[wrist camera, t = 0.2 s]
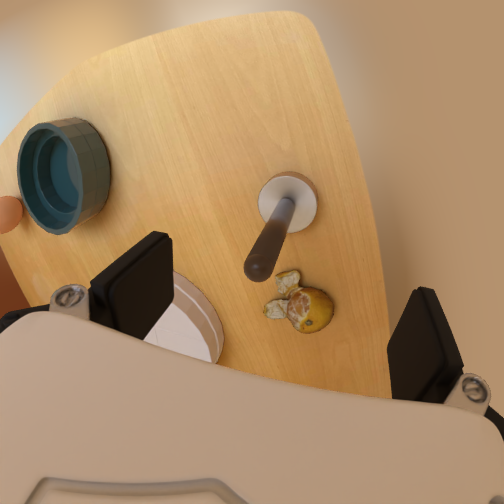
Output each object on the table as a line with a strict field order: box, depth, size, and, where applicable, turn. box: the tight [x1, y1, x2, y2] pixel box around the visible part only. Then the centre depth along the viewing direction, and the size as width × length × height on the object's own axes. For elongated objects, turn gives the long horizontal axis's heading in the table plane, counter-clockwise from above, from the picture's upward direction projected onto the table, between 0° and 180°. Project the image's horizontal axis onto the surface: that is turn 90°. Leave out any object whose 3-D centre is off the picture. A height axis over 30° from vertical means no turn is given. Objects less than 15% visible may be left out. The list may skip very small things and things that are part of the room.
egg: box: [0, 196, 23, 234], centre depth 39 cm, size 7×7×9 cm
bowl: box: [17, 118, 110, 235], centre depth 34 cm, size 16×16×6 cm
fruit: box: [263, 270, 334, 334], centre depth 35 cm, size 8×8×4 cm
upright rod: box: [244, 172, 318, 282], centre depth 25 cm, size 6×6×16 cm
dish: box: [143, 271, 224, 364], centre depth 43 cm, size 22×22×5 cm
